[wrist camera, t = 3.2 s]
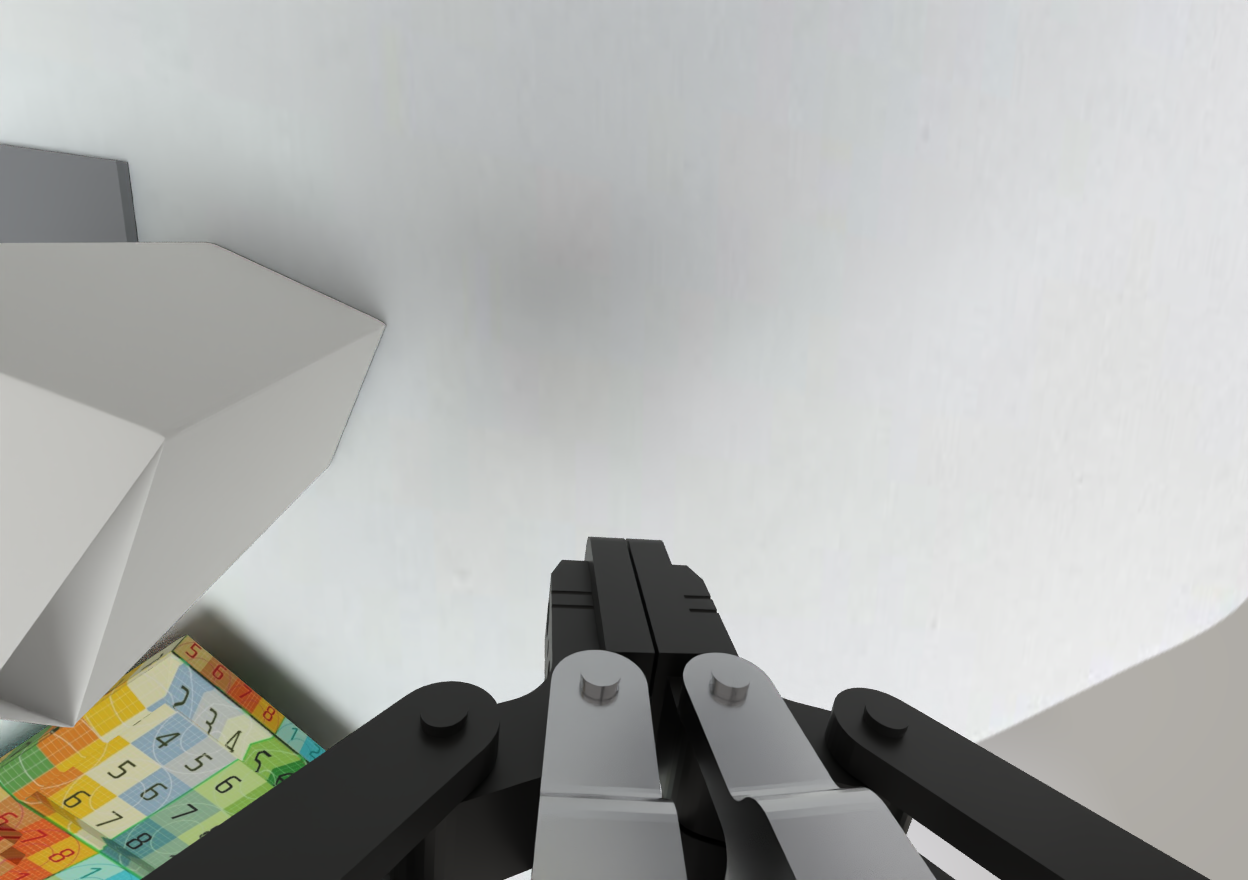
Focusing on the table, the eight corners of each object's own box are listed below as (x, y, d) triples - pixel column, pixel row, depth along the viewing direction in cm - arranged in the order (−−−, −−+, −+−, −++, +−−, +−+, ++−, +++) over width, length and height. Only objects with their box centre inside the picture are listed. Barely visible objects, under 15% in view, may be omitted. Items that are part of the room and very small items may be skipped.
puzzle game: (-198, 901, 25) (158, 665, 23) (-85, 802, 29) (220, 598, 28) (39, 1020, 29) (358, 825, 27) (107, 917, 33) (384, 743, 32)
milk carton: (210, 240, 23) (-1090, 237, 5) (388, 322, 24) (-57, 549, 6) (160, 399, 24) (-932, 842, 6) (331, 465, 26) (-147, 956, 8)
